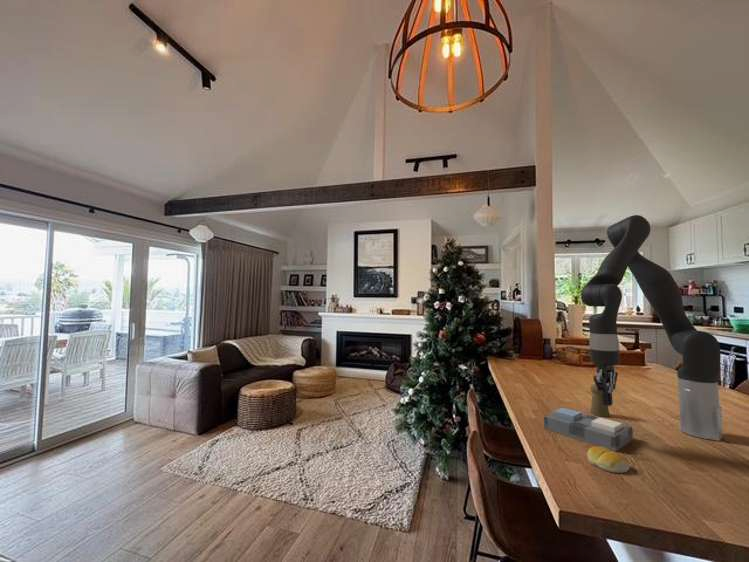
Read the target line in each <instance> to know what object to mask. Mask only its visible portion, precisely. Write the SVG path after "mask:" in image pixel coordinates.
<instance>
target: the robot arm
mask: <svg viewBox="0 0 749 562" xmlns="http://www.w3.org/2000/svg"><path fill="white" fill-rule="evenodd" d="M651 230H652V229H651V224H650V222H649V221H648V220H647V218H646V217H644V216H643V215H640V214H633V215H630V216H627V217H625V218H623V219H621V220H619V221H617V222H615V223H614V224H611V225H610V226H609V227H607V230H606V236H607V238H608V241H609V242H610V243H611V245H612V247H613V249H612V250H611V251H610V252H609V253H608V254H607V255H606V256H605V258H604V259H603V260H602V262H601V263H600V266H599V267H598V271H597V272H596V274H595V275H594V276H592V277H591V278H590V279H589V280H588V282H586V284H585V285H584V286H583V287H582V290H581V292H580V299H581V301H582V304H584V305H585V306H587V307H594V308H595V307H604V308H603V311H602V312H601V313H595V314H592V315H590V316H589V318H588V324H589V328H588V329H589V339H588V340H589V355H590V356H589V357H590V362H591V363H592V364H596V370H595V374H596V375H593V378H592V379H593V381H594V384H596V386H597V388H598V391H601V392H602V402H603V404H604V405H608V407H611V406H612V405H613V393H614V390H615V389H616V386H617V381H618V375H619V373H618V372H617V371H616V370H615V366H618V365H621V355H620V354H621V353H620V342H619V341H620V340H619V337H618V326H617V325H618V324H617V319H618V315H619V314H618V313H619V310H620V307H621V302H622V299H623V293H622V290H621V288H620V287H619V285H620V284H621V283H622V282H623V279H624V276H625V274H626V271H627V269H629V271H630V273H631V274H632V276H633V277H634V279H635V281H636V283H637V284H638V286H639V288H640V290H641V292H642V293H643V295H644V297H645V298H646V299H647V302H648V303H649V304H650V306H651V307H652V310H653V311H654V312H655V315H657V317H658V319H659V320H660V322H661V325H662V326H663V329H664V331H665V334H666V336H667V338H668V340H669V343H670V345H671V346H672V348H673V349H674V351H675V352H676V353H678V354H679V355H682V365H681V367H679V368H678V369H677V371H676V372H677V373H676V374H677V375H676V376H677V389H678V405H679V421H680V431H681V432H682V433H684V434H686V435H690V436H692V437H696V438H701V439H704V440H713V441H719V442H720V441H721V439H722V438H723V437H724V430H723V415H722V414H723V413H722V406H721V405H720V398H719V397H720V395H719V384H718V383H719V380H718V378H719V376H720V373H721V369H722V368H721V366H722V365H721V364H722V363H721V362H722V361H721V346H720V343H719V341H718V339H717V337H715V336H714V335H713V334H712V333H710V332H708V331H707V332H706V331H702V330H697V329H696V327H695V326H694V324H693V323H692V322H691V321H690V319H689V317H688V315H687V314H686V312H685V308H684V302H683V295H682V292H681V288H680V287H679V285H678V284H677V281H676V280H675V279H674V277H673V276H672V273H671V272H670V271H669V270H667V269H666V268H665V267H663V266H661V265H659V264H657V263H655V262H653V261H651V260H649V259H648V258H646V257H645V256H643V255H642V254H641V253H640V251H639V249H640V248H641V247H642V245H643V244H644V242H646V240H647V238H649V235H650V233H651Z"/></svg>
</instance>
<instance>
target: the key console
mask: <svg viewBox="0 0 749 562" xmlns="http://www.w3.org/2000/svg"><path fill="white" fill-rule="evenodd" d="M581 413H582V412H581ZM543 418H544V419H543V421H544V422H543V424H544V429H545V430H547V429H548V430H547V431H550V430H551V431H550V432H553V431H554V433H556V432H557V433H556V434H559V433H560V434H559V435H562V434H563V436H566V437H569V438H572V439H575V440H578V441H581V440H582V441H581V442H584V441H585V442H584V443H587V442H588V443H587V444H591V445H594V446H595V447H596V446H601V447H605V448H608V449H609V450H611V451H614V452H618V451H619V450H620V449H622V448H623V447H625V446H626V445H628V444H629V443H631V442H632V441H633V440H634V438H633V437H634V435H633V434H634V433H633V432H634V431H633V425H628V424H625V423H622V429H621V430H620V431H618V432H616V433H613V432H610V431H606V430H603V429H599V428H596V427H592V426H591V421H593V420H595V419H597V418H599V417H598V416H595V415H592V414H587V413H582V418H580V419H578V420H576V421H571V420H568V419H564V418H561V417H557V416H554V412H552V413H549V414H547V415H544V416H543ZM631 440H632V441H631ZM628 442H629V443H628Z"/></svg>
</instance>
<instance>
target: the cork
mask: <svg viewBox="0 0 749 562" xmlns="http://www.w3.org/2000/svg"><path fill="white" fill-rule="evenodd" d="M590 391H591V392H592V397H591V398H592V399H591V407H590V415H592V414H593V415H592V416H595V417H598V416H599V417H600V418H610V417H611V415H610V410H609V406H608V405H604V404H603V402H602V392H601V391H598V388H597V386H596V384H595V383H594V384H592V385H590ZM599 417H598V418H599Z"/></svg>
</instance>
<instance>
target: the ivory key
mask: <svg viewBox="0 0 749 562" xmlns="http://www.w3.org/2000/svg"><path fill="white" fill-rule="evenodd" d="M622 424H623V423H622V422H619V421H615V420H611V419H607V418H605V417H598V418H597V419H595V420H593V421H591V426H592V427H596V428H599V429H603V430H606V431H610V432H613V433H616V432H618V431H620V430H621V429H622Z"/></svg>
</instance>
